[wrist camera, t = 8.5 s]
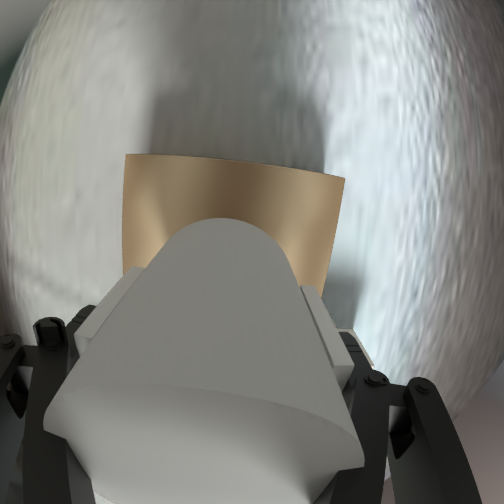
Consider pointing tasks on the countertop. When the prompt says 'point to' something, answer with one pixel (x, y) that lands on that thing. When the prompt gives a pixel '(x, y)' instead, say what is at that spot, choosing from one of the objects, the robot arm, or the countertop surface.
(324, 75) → the countertop surface
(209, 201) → the oak block
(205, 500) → the grey cylinder
